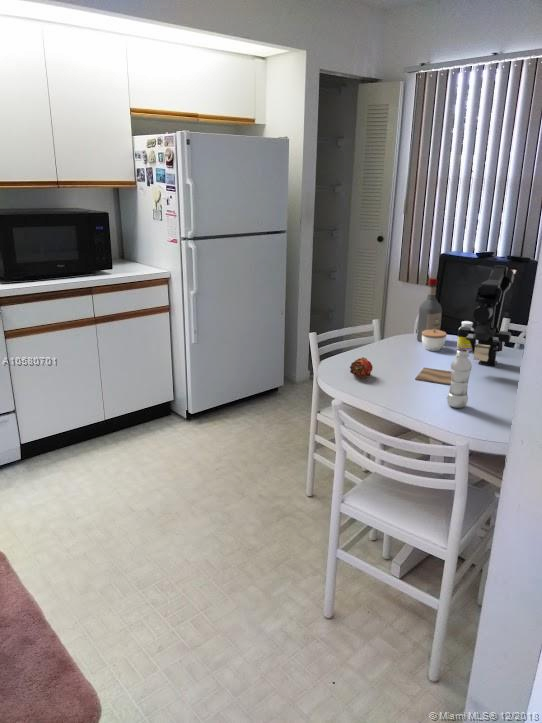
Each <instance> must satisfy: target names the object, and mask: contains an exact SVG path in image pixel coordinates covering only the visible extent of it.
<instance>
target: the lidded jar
mask: <svg viewBox="0 0 542 723" xmlns="http://www.w3.org/2000/svg"><path fill="white" fill-rule="evenodd" d="M446 340H447V332H446V331H444V330H441V329H440V330H436V329H433V330H424V331H422V342H421V343H422V345H423V347H424V348H425V350H427V351H431V352H436V351H437V352H439V351H440V350H441V349H442V348H443V347H444V345H445V343H446Z"/></svg>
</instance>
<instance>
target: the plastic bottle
mask: <svg viewBox="0 0 542 723" xmlns="http://www.w3.org/2000/svg"><path fill="white" fill-rule="evenodd" d="M455 355H456V357H455V358H454V360H452V362H451V364H450V371H451V385H449V392H448V395H447V397H446V399H447V401H446V402H447V404H448V406H450V407H452V408H455V409H462V408H465V407H466V406H467V404H468V401H469V397H468V388H469V387H468V386H469V385H468V384H469V381H470V380H469V378H470V374H471V371H472V366H473V365H472V363H471V361H470V359H469V356H470V351H468V350H466V349H456V353H455Z"/></svg>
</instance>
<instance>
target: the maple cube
mask: <svg viewBox="0 0 542 723" xmlns="http://www.w3.org/2000/svg"><path fill="white" fill-rule="evenodd" d="M489 350H490V345H481V344H478V343H476V346H475V350H474V354H473V359H472V360H474V361H480V360H481V361H487V360H488V358H489V357H488V354H489Z"/></svg>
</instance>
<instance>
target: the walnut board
mask: <svg viewBox="0 0 542 723" xmlns="http://www.w3.org/2000/svg"><path fill="white" fill-rule="evenodd" d="M415 381H421V382H428V383H434V384H440V385H444V386H445V385H446V386H450V385H451V370H450V371H449V370H445V369H436V368H429V367H423V368H422V370H421V371H420V372H419V373H418V375H417V376H416V377H415Z"/></svg>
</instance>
